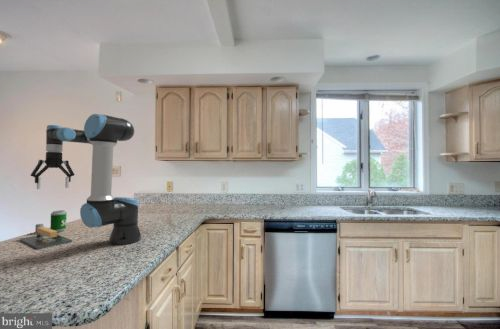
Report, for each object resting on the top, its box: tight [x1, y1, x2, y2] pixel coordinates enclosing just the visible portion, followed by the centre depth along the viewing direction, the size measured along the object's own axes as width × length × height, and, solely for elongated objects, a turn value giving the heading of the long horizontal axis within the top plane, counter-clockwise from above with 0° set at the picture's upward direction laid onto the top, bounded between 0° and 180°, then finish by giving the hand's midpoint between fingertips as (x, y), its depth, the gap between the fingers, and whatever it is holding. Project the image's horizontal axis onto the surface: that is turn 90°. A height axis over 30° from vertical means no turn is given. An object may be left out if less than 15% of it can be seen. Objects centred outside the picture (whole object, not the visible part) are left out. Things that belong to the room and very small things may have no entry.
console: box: [19, 233, 73, 250], centre depth 127 cm, size 24×14×3 cm, turn 58°
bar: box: [34, 223, 58, 238], centre depth 127 cm, size 20×3×4 cm, turn 58°
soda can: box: [49, 210, 68, 233], centre depth 147 cm, size 8×8×12 cm
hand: (53, 188), depth 142 cm, fingers open, 13 cm apart
